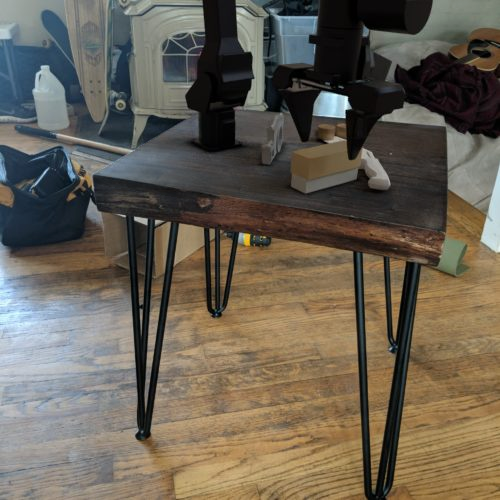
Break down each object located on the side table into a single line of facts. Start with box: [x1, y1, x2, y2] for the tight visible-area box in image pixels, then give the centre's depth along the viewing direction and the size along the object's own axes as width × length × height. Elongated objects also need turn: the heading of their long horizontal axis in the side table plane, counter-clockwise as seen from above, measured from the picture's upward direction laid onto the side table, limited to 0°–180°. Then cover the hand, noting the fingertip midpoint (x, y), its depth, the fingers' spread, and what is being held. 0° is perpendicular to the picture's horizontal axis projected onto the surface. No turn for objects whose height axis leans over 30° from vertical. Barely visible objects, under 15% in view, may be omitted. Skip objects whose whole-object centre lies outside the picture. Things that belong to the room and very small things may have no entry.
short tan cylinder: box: [335, 123, 346, 140], centre depth 93 cm, size 3×3×2 cm
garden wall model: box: [260, 112, 286, 166], centre depth 82 cm, size 12×2×6 cm, turn 167°
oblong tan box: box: [290, 139, 364, 194], centre depth 72 cm, size 4×10×5 cm, turn 127°
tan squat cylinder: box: [316, 123, 336, 141], centre depth 91 cm, size 3×3×2 cm
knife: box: [321, 135, 391, 191], centre depth 83 cm, size 30×2×8 cm
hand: (327, 150), depth 71 cm, fingers open, 9 cm apart
